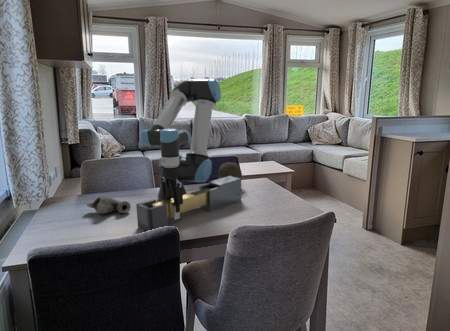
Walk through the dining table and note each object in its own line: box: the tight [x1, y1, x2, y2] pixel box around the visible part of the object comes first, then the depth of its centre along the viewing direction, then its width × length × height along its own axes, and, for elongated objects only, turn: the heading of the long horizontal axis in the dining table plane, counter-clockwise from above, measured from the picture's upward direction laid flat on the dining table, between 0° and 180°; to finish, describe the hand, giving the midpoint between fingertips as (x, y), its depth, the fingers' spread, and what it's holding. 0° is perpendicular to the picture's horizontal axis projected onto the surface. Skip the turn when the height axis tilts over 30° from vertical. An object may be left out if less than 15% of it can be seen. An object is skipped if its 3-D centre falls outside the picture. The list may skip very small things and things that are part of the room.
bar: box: [151, 188, 210, 219], centre depth 146 cm, size 6×32×6 cm, turn 134°
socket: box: [135, 198, 169, 232], centre depth 135 cm, size 10×8×10 cm
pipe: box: [86, 196, 132, 215], centre depth 152 cm, size 16×9×15 cm
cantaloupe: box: [217, 161, 243, 180], centre depth 186 cm, size 14×14×15 cm
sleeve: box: [198, 176, 242, 212], centre depth 162 cm, size 8×21×12 cm, turn 134°
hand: (173, 216), depth 143 cm, fingers closed on bar, 4 cm apart
